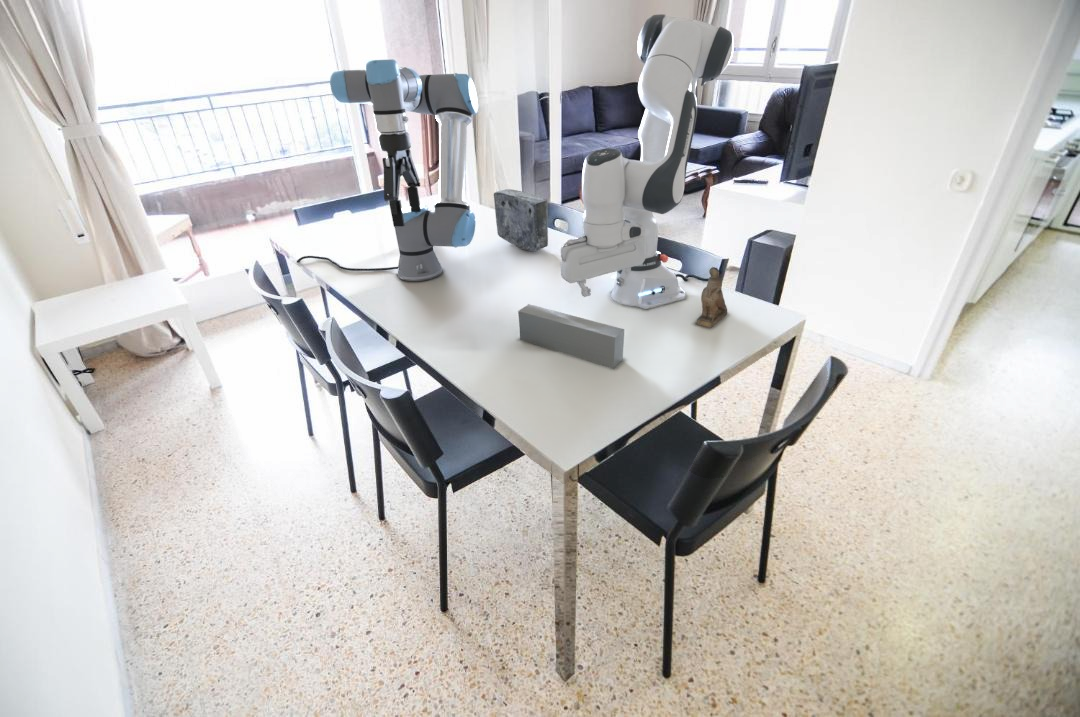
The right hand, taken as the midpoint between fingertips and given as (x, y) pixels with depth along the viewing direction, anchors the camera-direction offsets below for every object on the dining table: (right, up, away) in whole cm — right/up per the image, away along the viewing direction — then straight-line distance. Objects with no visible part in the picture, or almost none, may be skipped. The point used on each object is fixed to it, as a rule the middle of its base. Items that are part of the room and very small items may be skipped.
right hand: (603, 290), depth 114 cm
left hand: (-50, +22, +19) cm, 58 cm away
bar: (-7, -13, +14) cm, 20 cm away
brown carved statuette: (+34, -4, +26) cm, 42 cm away
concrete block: (-21, +28, +83) cm, 90 cm away
